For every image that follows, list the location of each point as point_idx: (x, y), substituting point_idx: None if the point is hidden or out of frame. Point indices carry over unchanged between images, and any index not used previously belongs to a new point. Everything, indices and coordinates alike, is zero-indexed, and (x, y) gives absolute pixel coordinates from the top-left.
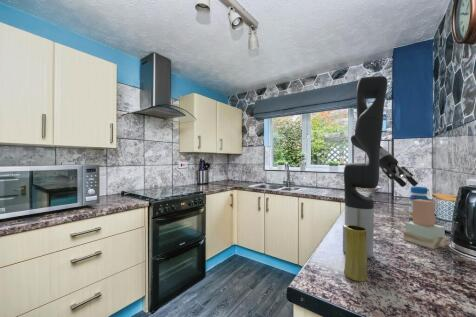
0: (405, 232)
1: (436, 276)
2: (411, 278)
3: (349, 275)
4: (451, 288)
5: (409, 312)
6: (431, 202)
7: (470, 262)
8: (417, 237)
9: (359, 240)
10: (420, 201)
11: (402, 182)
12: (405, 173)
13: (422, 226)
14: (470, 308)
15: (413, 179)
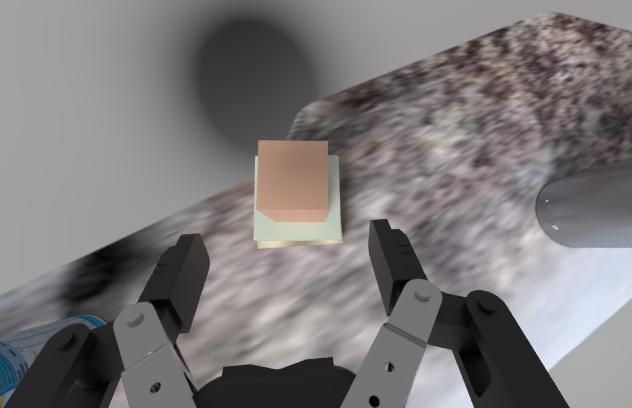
0: (342, 237)
1: (488, 82)
2: (548, 91)
3: None
4: (506, 50)
5: None
6: (286, 142)
7: (335, 95)
8: None
9: None
10: (327, 170)
11: (401, 240)
12: (179, 364)
13: (332, 183)
14: (539, 14)
15: (181, 268)
